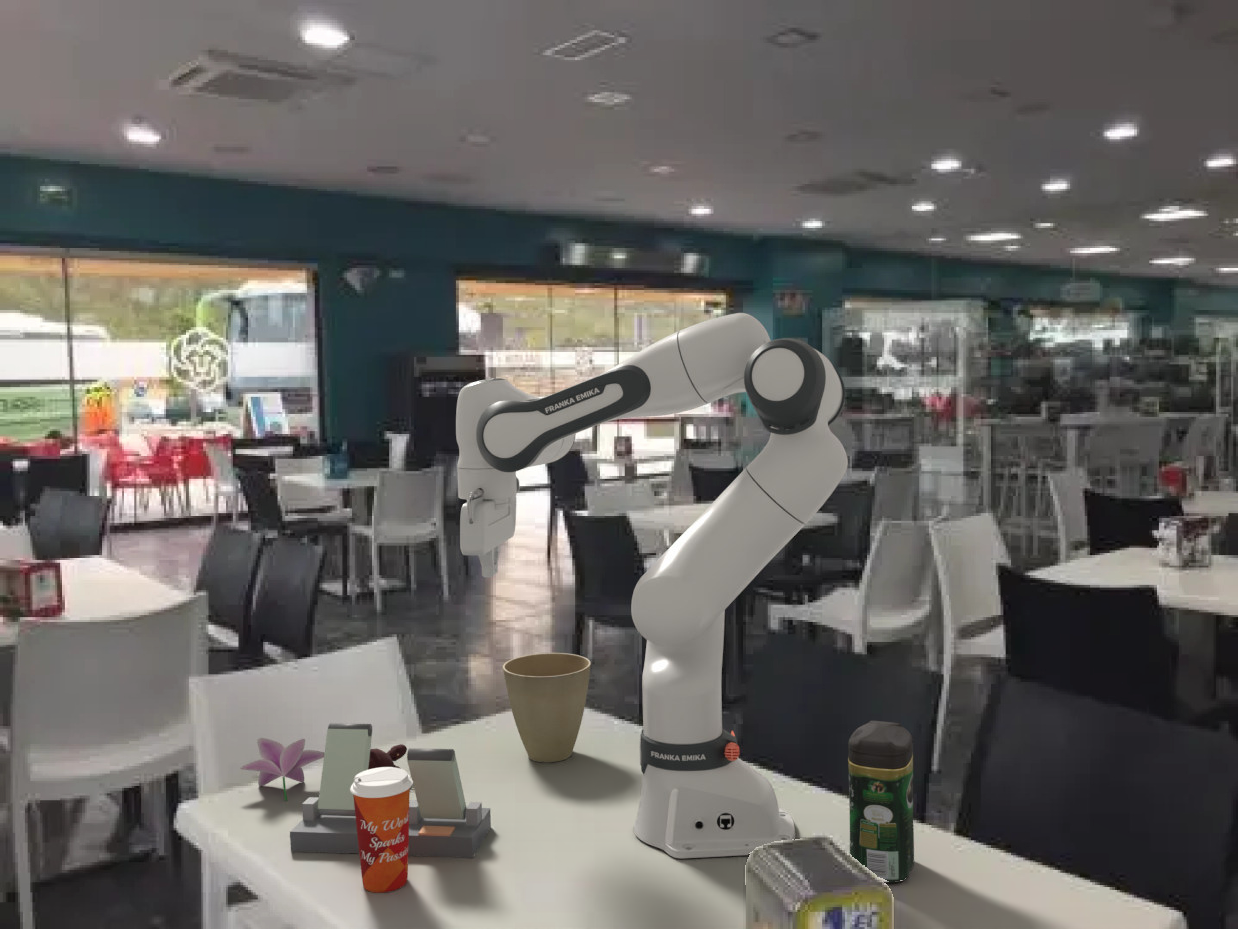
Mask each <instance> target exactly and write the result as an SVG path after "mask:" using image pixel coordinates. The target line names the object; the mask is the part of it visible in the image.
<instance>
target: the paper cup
mask: <svg viewBox="0 0 1238 929" xmlns="http://www.w3.org/2000/svg"><path fill="white" fill-rule="evenodd" d="M400 768H401V767H400ZM400 768H395V767H380V768H373V769H369V770H366V771H363V772H361V773H359V774H357V775H356V776H355V777H354V780H353V784H352V786H351V788H350V791H351V793H352V794H353V797H354V807H355V817H356V827H357V837H358V846H359V854H358V855H359V863H360V871H361V880H362V886H363V888H364V890H365V891H368V892H370V893H375V894H381V893H382V894H383V893H390V892H394V891H397V890H399V889H401V888H403V887H405V885H406V884H407V882H408V876H409V875H408V872H409V856H408V846H409V802H410V796H411V795H410V788H411V787H412V786H413V781H412V778H411V774H409V773H408V772H407V771H406V770H405V769H404V768H401V769H400Z"/></svg>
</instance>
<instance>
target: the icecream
mask: <svg viewBox="0 0 1238 929" xmlns="http://www.w3.org/2000/svg"><path fill="white" fill-rule="evenodd" d="M407 752H408V748H407V746H406V745H405V744H403V743H402V744H397V745H394V746H391V748H390V749H389V750H388V751H387V752H386V751H384V750H382V749H381V748H380V749H379V748H370V757H369V766H368V770H369V769H373V768H380V767H395V768H400V769H402V768H401V767H400V766H399V765H398V766H397V765H396V764H395V763H394V762H397V761H398V760H400V759H401V758H403V757H404V756H405V754H406V755H407Z"/></svg>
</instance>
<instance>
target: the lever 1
mask: <svg viewBox="0 0 1238 929" xmlns="http://www.w3.org/2000/svg"><path fill="white" fill-rule="evenodd" d="M326 732H327V733H326V739H325V746H324V748H325V749H324V753H325V754H324V758H323V763H322V772H321V778H320V779H321V780H320V788H319V795H318V796H319V797H318V798H319V801H318V814H319V815H331V816H355V807H354V797H353V794H352V793H351V791H350V788H351V786H352V784H353V780H354V777H355V776H356V775H357V774H359V773H361V772H363V771H366V770H368V766H369V757H370V749H372V748H371V747H372V739H373V725H372V724H371V723H343V722H342V723H339V722H338V723H337V722H333V723H332V722H330V723H328V726H327V731H326Z"/></svg>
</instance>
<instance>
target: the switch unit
mask: <svg viewBox="0 0 1238 929" xmlns="http://www.w3.org/2000/svg"><path fill="white" fill-rule="evenodd" d="M318 801H319V797H313V796H311V797H310V796H309V797H308V798H306V800H305V801H303V802H302V804H301V805H302V807H301V808H302V810H301V811H302V819H301V820H300V821H299V822H298V823H297V824H296V825H295V826H294V827H293V828H292V829H291V830H290V831H289V839H290V842H289V843H290V844H289V845H290V852H295V853H296V852H298V853H320V852H321V854H322V852H324V853H325V852H326V853H325V854H327V853H328V854H329V853H330V854H349V853H358V854H357V855H359V846H358V837H357V827H356V817H355V816H331V815H319V814H318ZM482 806H483V802H482V801H470V802H469V803H468V805H466V807H467V808H466V818H465V820H463V819H430V818H421V815H420V811H419V807H418V803H417V799H416V800H415V799H411V800H409V846H408V857H409V856H410V857H411V856H413V857H414V856H415V857H433V858H434V857H438V858H439V857H440V858H444V857H445V858H465V859H466V858H469V859H470V858H471V859H473V858H474V856H475V854H476V853H477V851H478V849H479V848H480V846H481V845H482V843H483V841H484V839H485V838H486V836H487V834H488V833H489V832H490V829H491V827H492V825H491V824H492V823H491V820H492V818H491V807H482Z"/></svg>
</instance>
